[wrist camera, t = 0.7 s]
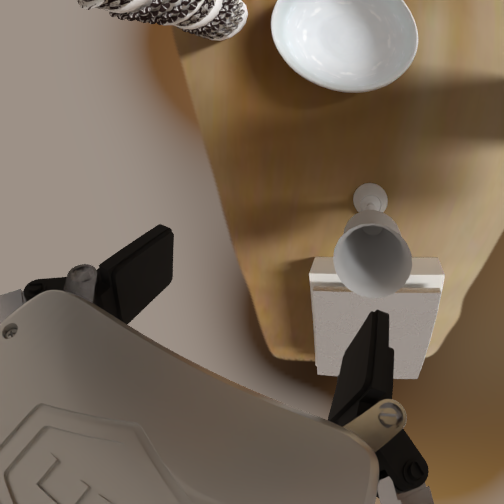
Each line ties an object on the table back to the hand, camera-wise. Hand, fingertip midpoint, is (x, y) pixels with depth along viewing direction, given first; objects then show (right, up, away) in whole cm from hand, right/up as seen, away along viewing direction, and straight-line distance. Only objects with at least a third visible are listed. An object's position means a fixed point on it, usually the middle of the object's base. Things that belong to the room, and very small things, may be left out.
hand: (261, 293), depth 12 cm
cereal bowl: (+12, +30, +15) cm, 36 cm away
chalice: (+16, +9, +25) cm, 31 cm away
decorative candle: (-5, +37, +19) cm, 42 cm away
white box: (+20, -10, +31) cm, 38 cm away
